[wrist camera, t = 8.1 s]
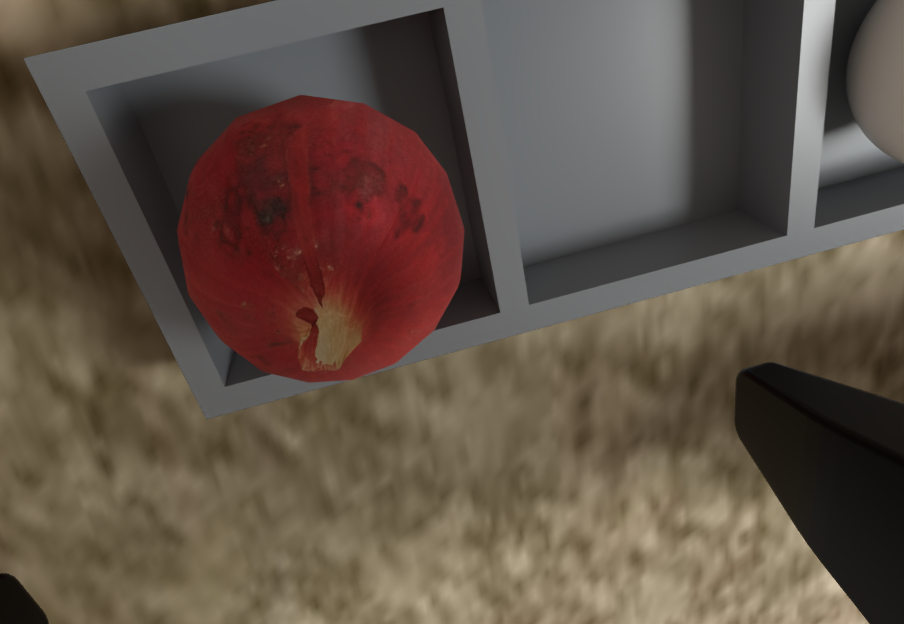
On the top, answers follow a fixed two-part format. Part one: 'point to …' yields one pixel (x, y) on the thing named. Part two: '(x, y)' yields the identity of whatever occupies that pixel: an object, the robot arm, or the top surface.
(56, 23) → the top surface
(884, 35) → the ceramic egg
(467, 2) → the egg tray
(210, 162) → the onion
